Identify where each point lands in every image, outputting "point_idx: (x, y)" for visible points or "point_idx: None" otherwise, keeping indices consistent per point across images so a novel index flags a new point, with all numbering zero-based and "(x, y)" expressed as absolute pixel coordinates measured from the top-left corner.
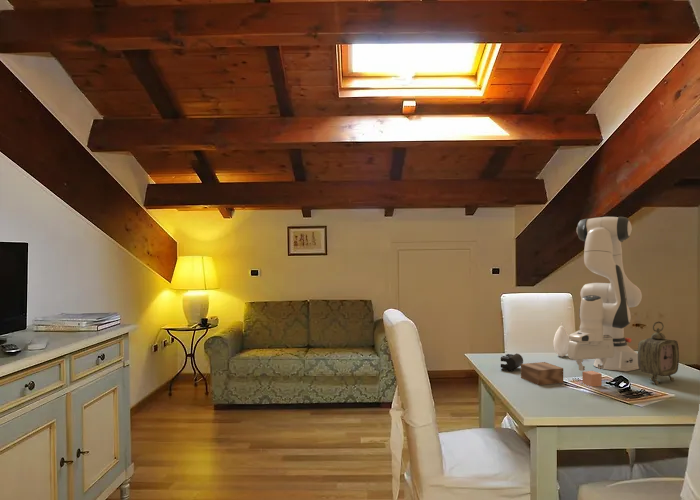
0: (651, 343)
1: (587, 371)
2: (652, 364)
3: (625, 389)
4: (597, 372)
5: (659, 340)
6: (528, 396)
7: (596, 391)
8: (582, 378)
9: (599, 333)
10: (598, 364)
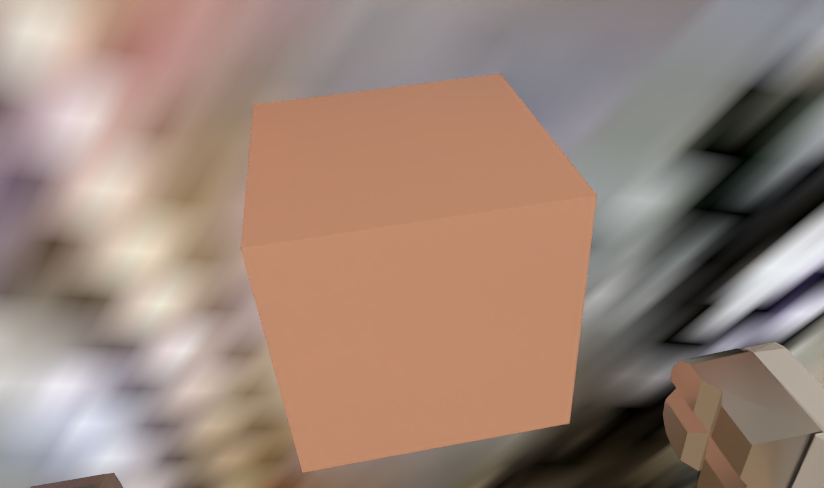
0: None
1: (405, 241)
2: None
3: (644, 417)
4: (570, 345)
5: None
6: None
7: (234, 468)
8: (249, 153)
9: None
10: (752, 456)
